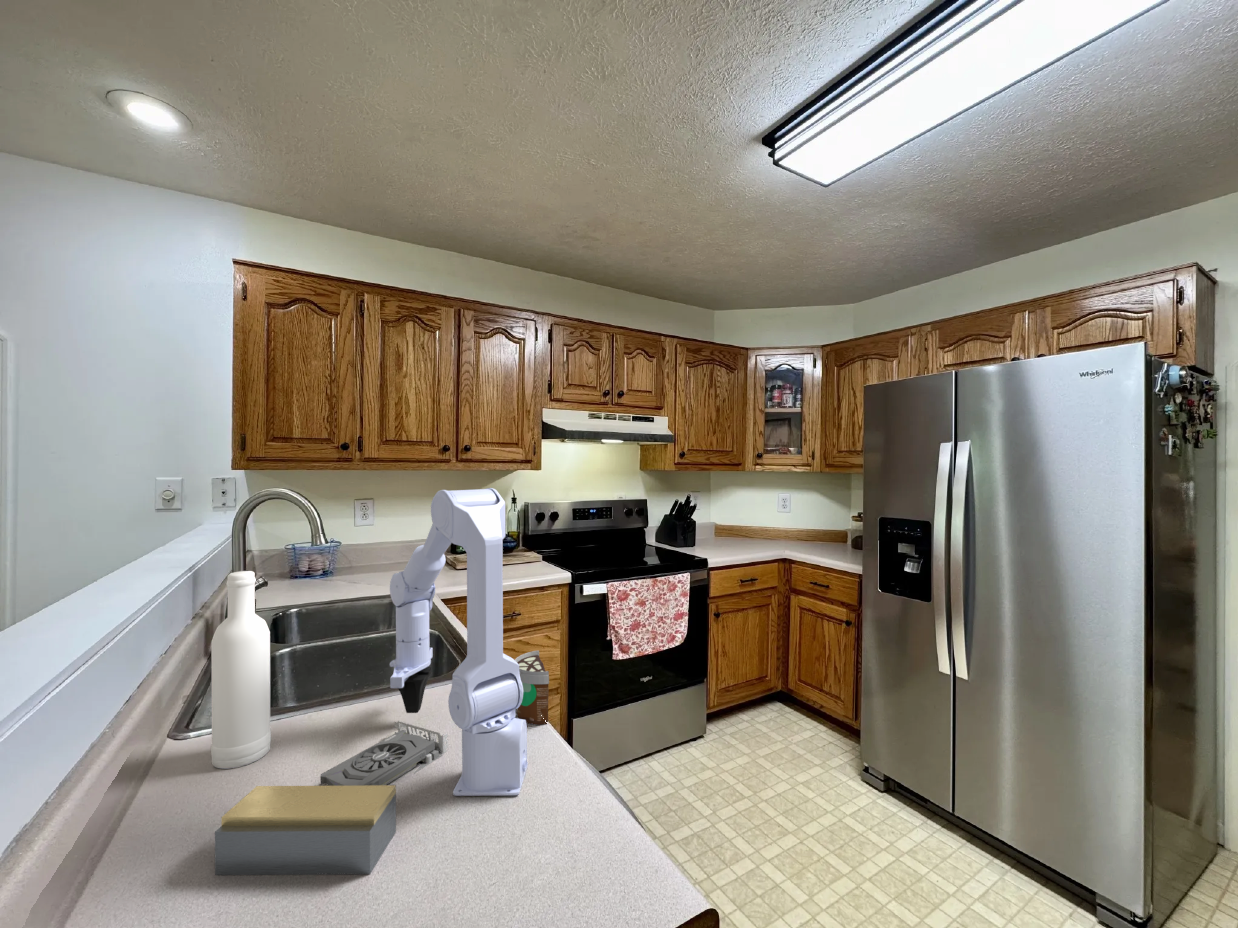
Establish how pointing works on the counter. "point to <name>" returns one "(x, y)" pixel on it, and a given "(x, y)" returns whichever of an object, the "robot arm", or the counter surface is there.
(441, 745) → the graphics card
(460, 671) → the robot arm
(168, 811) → the counter surface
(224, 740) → the bottle
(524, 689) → the food container
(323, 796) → the grey flat box
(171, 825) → the counter surface
